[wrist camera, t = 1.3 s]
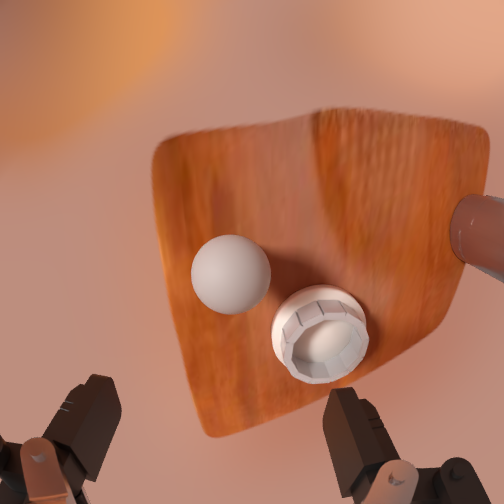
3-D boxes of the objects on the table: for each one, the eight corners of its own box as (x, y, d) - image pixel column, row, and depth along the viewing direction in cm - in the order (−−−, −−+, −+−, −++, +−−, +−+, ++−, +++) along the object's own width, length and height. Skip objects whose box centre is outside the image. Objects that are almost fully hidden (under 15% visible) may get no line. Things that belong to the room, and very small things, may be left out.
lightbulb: (270, 266, 31) (284, 315, 20) (215, 282, 31) (203, 337, 20) (253, 210, 29) (260, 234, 18) (196, 229, 29) (171, 261, 19)
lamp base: (343, 267, 31) (359, 284, 26) (370, 338, 34) (385, 360, 29) (254, 311, 32) (256, 335, 27) (293, 376, 35) (299, 402, 30)
